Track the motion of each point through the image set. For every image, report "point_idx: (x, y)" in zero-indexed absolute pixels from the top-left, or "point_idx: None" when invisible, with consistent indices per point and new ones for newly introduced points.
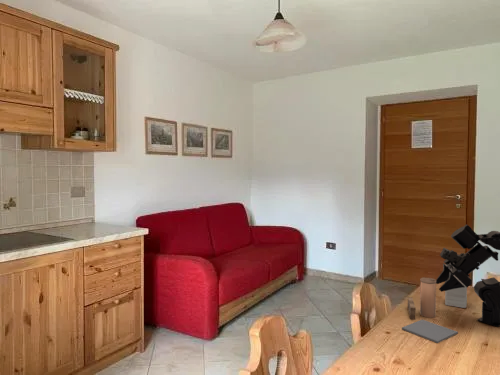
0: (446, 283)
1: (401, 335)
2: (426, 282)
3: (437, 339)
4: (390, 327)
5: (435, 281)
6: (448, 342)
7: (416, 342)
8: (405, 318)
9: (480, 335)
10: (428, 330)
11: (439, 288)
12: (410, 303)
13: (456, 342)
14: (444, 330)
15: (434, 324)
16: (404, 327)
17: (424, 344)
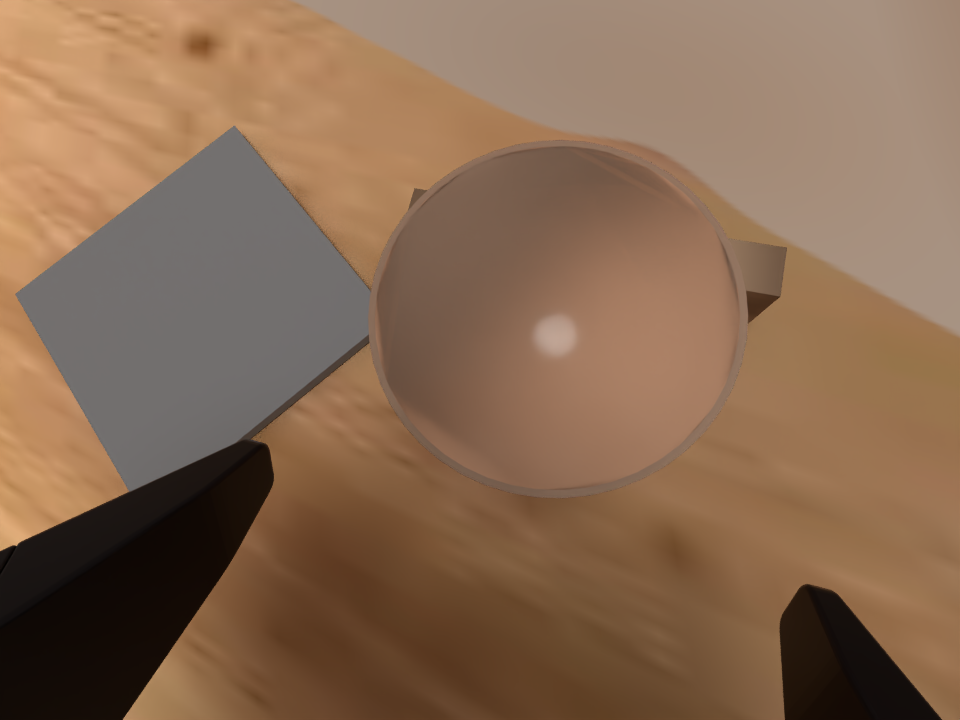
0: (13, 561)
1: (154, 114)
2: (410, 231)
3: (38, 303)
4: (275, 72)
5: (410, 429)
6: (32, 376)
7: (56, 176)
8: None
9: None
10: (179, 293)
11: (243, 445)
12: None
13: (25, 433)
14: (170, 415)
15: (287, 381)
16: (235, 143)
17: (26, 215)
